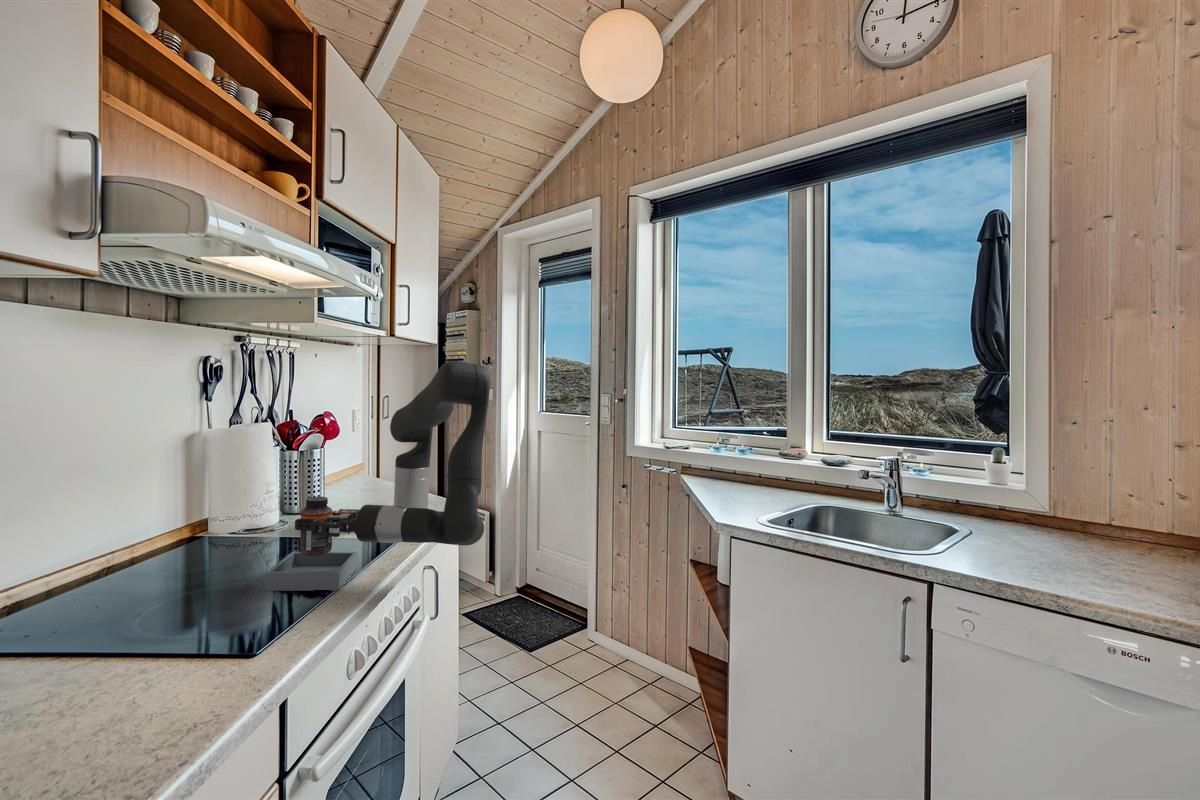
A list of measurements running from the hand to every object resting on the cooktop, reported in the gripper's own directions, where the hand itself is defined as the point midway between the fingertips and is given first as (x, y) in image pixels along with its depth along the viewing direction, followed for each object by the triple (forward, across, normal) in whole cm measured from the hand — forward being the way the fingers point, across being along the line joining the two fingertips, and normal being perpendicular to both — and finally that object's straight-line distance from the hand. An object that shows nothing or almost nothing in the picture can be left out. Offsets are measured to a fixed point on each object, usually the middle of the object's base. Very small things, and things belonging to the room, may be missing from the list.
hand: (304, 520), depth 118 cm
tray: (-2, 0, +12) cm, 12 cm away
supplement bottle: (-2, 0, +7) cm, 7 cm away
